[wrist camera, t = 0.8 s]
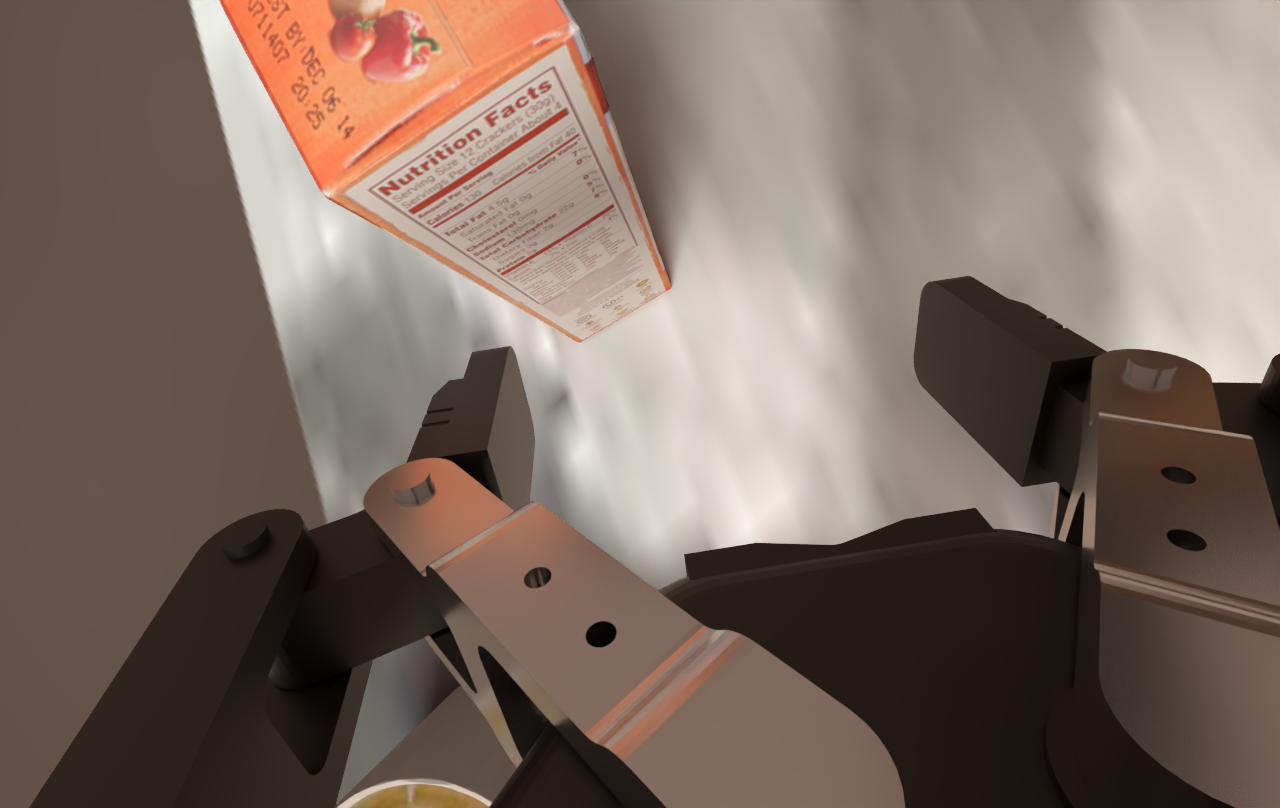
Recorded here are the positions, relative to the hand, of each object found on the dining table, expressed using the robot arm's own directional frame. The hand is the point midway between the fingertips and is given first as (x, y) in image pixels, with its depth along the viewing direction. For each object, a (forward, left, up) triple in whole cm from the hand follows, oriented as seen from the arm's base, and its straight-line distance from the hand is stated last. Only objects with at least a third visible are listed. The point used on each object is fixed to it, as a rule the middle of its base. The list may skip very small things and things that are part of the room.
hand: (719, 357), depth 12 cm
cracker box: (0, -13, -19) cm, 23 cm away
